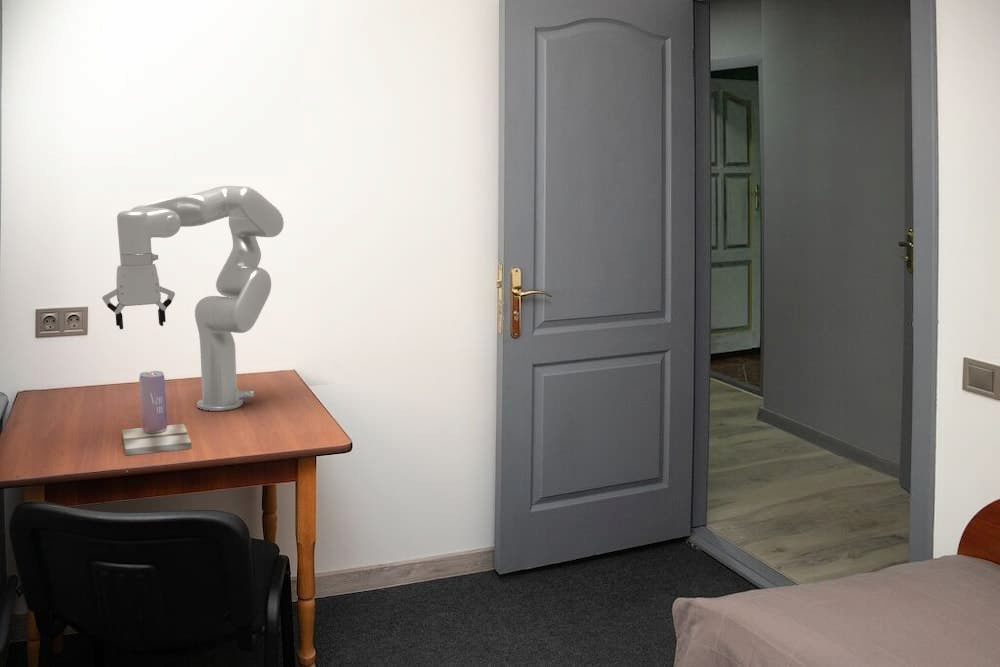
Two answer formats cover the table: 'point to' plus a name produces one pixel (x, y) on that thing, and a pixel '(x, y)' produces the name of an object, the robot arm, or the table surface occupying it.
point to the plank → (140, 434)
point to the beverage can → (153, 402)
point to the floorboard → (157, 444)
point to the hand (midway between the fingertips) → (141, 326)
